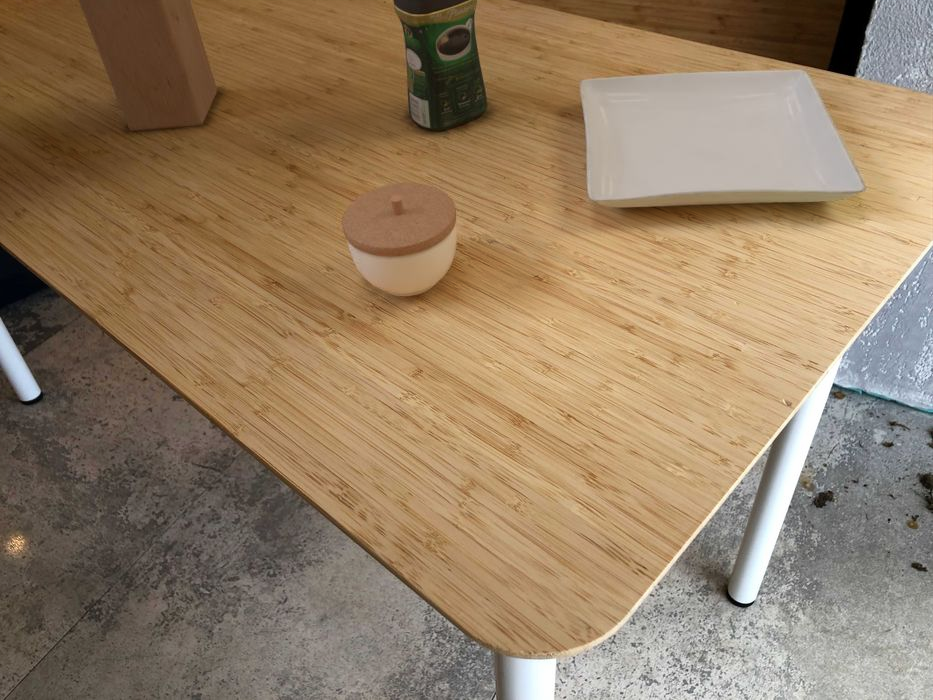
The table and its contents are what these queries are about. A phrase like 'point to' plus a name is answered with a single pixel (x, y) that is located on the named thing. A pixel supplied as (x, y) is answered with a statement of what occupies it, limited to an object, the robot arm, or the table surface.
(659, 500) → the table surface
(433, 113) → the coffee jar
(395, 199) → the trinket box
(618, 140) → the square plate
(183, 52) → the wooden block
